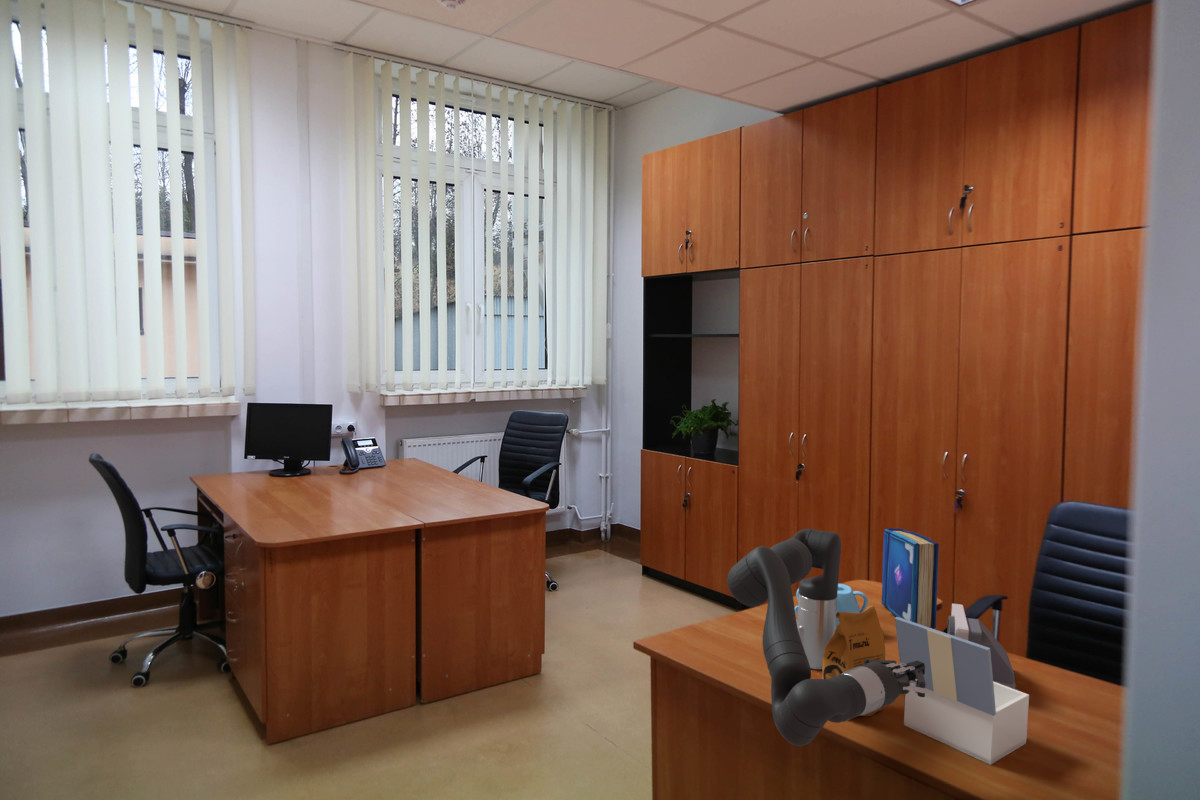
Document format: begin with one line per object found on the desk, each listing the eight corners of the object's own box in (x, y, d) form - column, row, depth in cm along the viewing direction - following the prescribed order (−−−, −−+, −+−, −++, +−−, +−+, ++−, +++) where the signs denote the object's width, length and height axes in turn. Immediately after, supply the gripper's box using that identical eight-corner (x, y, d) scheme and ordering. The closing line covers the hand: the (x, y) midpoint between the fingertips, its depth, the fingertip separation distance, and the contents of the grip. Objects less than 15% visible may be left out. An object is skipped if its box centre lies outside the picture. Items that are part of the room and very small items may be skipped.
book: (877, 604, 230) (881, 524, 228) (899, 604, 231) (903, 524, 229) (912, 631, 209) (916, 543, 207) (936, 631, 209) (941, 543, 207)
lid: (996, 713, 141) (993, 716, 140) (904, 676, 156) (901, 678, 156) (990, 648, 138) (987, 650, 137) (896, 616, 153) (894, 618, 153)
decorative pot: (824, 642, 200) (826, 592, 199) (788, 621, 215) (790, 574, 214) (873, 635, 206) (875, 586, 205) (835, 614, 221) (837, 569, 220)
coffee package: (813, 702, 166) (817, 605, 164) (856, 693, 171) (860, 598, 169) (845, 724, 157) (849, 621, 155) (890, 713, 162) (894, 613, 160)
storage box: (990, 764, 142) (993, 713, 141) (903, 724, 157) (906, 678, 156) (1026, 743, 150) (1029, 694, 149) (940, 707, 165) (943, 662, 164)
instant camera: (928, 653, 195) (931, 596, 194) (1020, 672, 184) (1023, 612, 183) (916, 684, 176) (919, 621, 175) (1016, 707, 166) (1021, 641, 165)
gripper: (899, 681, 126) (955, 659, 137) (834, 655, 137) (890, 636, 147) (897, 725, 127) (953, 699, 137) (832, 695, 138) (888, 673, 148)
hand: (920, 666), depth 142 cm, fingers closed
